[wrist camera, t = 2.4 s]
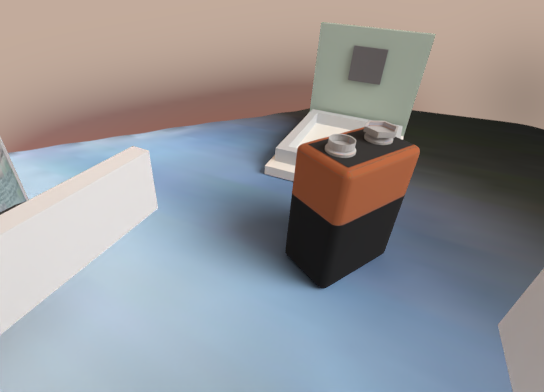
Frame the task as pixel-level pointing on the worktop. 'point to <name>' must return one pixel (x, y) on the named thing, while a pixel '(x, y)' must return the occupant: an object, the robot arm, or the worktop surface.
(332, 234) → the battery
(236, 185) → the worktop surface
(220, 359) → the worktop surface
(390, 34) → the charging dock
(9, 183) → the spray can
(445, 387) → the worktop surface
